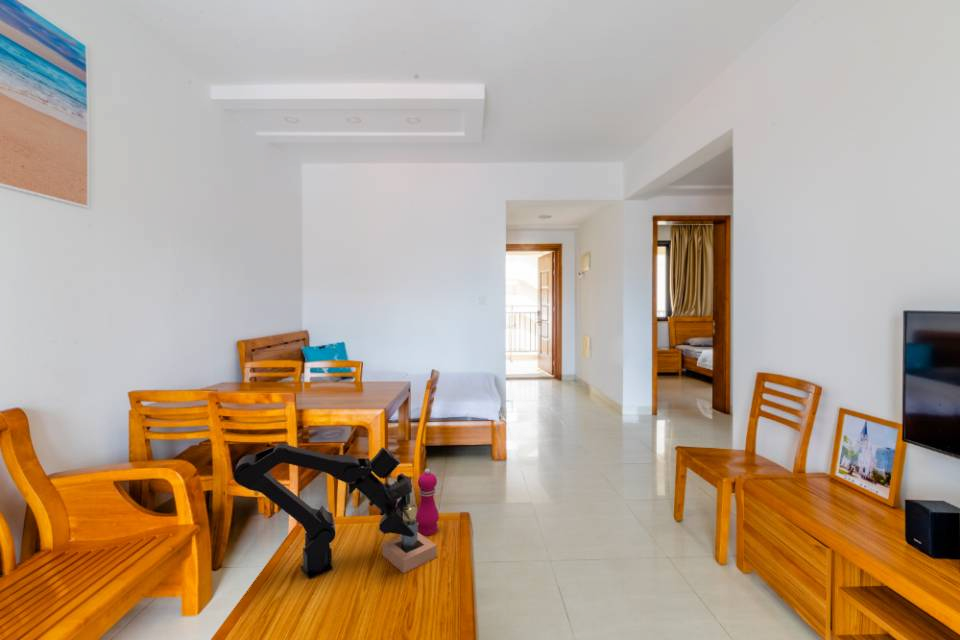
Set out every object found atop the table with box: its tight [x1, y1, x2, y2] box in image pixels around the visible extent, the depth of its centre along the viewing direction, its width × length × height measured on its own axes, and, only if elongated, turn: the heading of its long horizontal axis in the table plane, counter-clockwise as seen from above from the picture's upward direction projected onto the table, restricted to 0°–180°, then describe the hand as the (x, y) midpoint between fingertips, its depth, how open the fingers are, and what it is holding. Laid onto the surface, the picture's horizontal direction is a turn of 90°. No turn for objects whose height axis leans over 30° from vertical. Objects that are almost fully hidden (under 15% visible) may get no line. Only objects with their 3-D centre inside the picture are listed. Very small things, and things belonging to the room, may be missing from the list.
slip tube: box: [400, 503, 418, 553], centre depth 125 cm, size 5×5×14 cm
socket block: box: [382, 531, 438, 574], centre depth 125 cm, size 11×11×4 cm
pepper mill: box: [416, 468, 440, 536], centre depth 139 cm, size 7×7×20 cm
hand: (414, 526), depth 125 cm, fingers open, 9 cm apart
